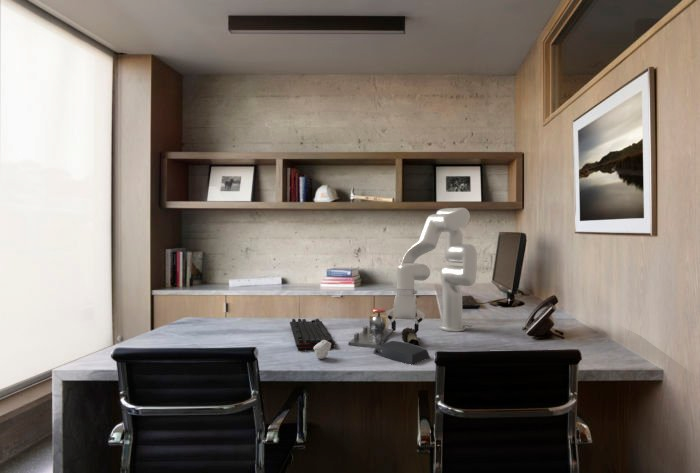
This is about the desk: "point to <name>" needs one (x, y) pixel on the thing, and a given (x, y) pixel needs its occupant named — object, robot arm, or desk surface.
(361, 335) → the stand
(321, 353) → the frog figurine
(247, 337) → the desk surface
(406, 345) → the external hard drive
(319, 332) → the keyboard
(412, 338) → the morel mushroom
